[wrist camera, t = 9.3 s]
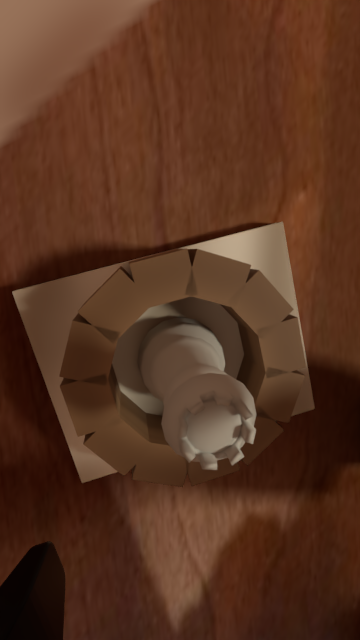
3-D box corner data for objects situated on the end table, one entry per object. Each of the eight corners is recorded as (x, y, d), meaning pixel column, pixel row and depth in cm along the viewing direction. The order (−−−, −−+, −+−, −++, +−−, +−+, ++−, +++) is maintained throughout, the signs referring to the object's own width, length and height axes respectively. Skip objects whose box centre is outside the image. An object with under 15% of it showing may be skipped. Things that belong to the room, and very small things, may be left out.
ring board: (273, 223, 19) (313, 215, 15) (304, 400, 21) (346, 435, 17) (19, 289, 18) (-13, 300, 14) (84, 469, 20) (74, 525, 16)
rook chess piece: (122, 337, 18) (118, 405, 10) (200, 301, 18) (256, 340, 10) (158, 408, 19) (180, 520, 11) (231, 373, 19) (303, 458, 11)
